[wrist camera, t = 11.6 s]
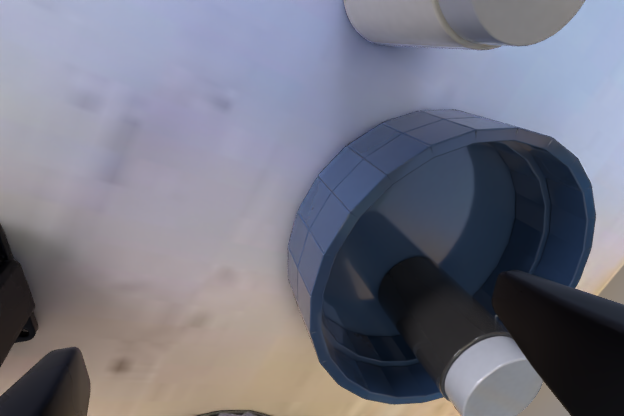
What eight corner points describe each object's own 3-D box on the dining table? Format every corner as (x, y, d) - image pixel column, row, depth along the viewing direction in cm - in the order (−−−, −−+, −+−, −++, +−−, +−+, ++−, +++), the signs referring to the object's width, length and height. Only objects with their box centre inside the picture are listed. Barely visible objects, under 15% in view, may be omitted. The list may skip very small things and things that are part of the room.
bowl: (287, 363, 25) (308, 434, 20) (283, 114, 18) (313, 138, 14) (493, 319, 29) (547, 370, 25) (551, 103, 22) (639, 120, 18)
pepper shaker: (374, 320, 25) (452, 442, 17) (380, 261, 23) (471, 369, 15) (435, 308, 26) (532, 417, 19) (446, 251, 24) (559, 347, 17)
